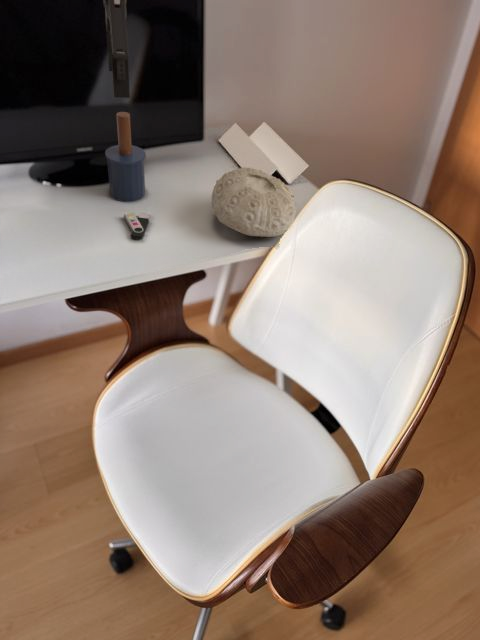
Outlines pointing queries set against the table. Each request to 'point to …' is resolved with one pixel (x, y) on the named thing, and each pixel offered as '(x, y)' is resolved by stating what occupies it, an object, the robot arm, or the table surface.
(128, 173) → the tin
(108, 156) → the lid
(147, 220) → the usb flash drive
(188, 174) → the table surface
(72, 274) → the table surface
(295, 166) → the z bracket
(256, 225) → the decorative shell
